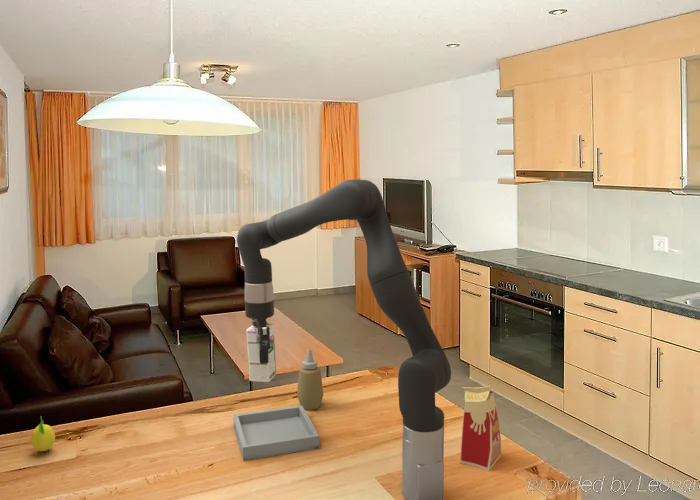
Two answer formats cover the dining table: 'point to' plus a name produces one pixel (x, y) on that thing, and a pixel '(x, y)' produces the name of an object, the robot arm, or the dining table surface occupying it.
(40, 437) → the lemon
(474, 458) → the milk carton
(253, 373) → the syrup box
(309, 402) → the squeeze bottle
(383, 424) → the dining table surface
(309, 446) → the tray
